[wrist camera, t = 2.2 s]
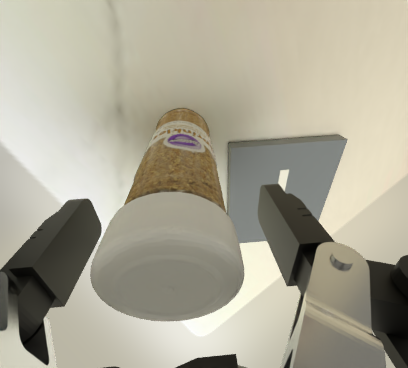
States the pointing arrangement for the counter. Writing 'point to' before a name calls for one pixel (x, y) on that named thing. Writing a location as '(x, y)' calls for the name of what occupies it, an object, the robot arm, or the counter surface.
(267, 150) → the slate board
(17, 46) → the counter surface
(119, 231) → the sprinkles bottle
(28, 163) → the counter surface
